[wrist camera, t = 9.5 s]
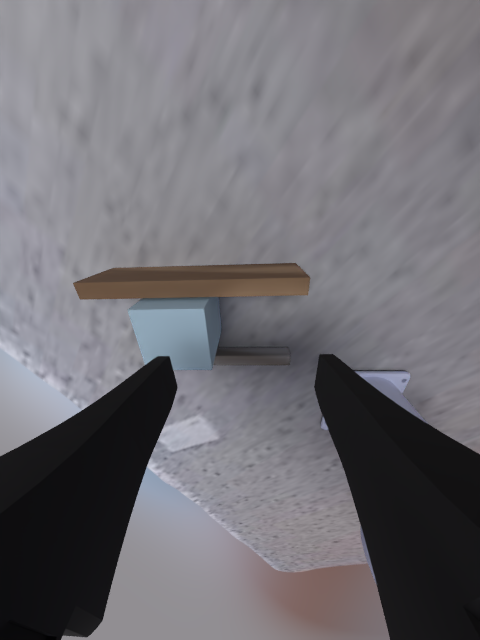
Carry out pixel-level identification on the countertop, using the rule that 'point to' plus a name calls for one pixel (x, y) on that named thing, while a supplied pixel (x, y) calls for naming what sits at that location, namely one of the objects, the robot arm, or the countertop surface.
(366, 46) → the countertop surface
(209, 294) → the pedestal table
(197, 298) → the cabinet block
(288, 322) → the countertop surface
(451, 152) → the countertop surface
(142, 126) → the countertop surface
